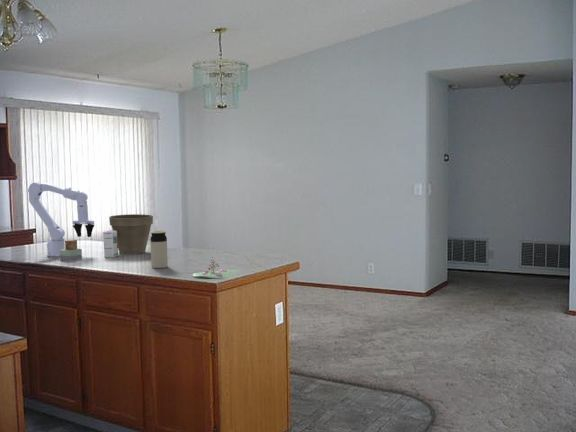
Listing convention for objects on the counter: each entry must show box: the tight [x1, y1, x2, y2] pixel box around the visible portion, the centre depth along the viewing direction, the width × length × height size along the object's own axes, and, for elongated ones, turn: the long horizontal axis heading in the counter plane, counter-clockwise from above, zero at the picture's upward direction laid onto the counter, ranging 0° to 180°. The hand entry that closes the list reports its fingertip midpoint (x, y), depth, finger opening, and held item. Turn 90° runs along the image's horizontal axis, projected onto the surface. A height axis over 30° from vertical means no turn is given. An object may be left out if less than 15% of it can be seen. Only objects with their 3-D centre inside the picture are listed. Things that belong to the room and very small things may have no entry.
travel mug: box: [149, 230, 169, 269], centre depth 314 cm, size 8×8×18 cm
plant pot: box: [108, 213, 154, 255], centre depth 368 cm, size 25×25×22 cm
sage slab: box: [60, 248, 83, 256], centre depth 347 cm, size 8×8×3 cm
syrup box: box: [102, 230, 119, 258], centre depth 355 cm, size 6×6×14 cm
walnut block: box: [64, 239, 78, 250], centre depth 347 cm, size 4×4×5 cm
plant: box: [191, 257, 240, 279], centre depth 293 cm, size 25×21×9 cm
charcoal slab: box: [59, 253, 83, 262], centre depth 347 cm, size 8×8×3 cm
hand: (84, 236), depth 364 cm, fingers open, 7 cm apart
